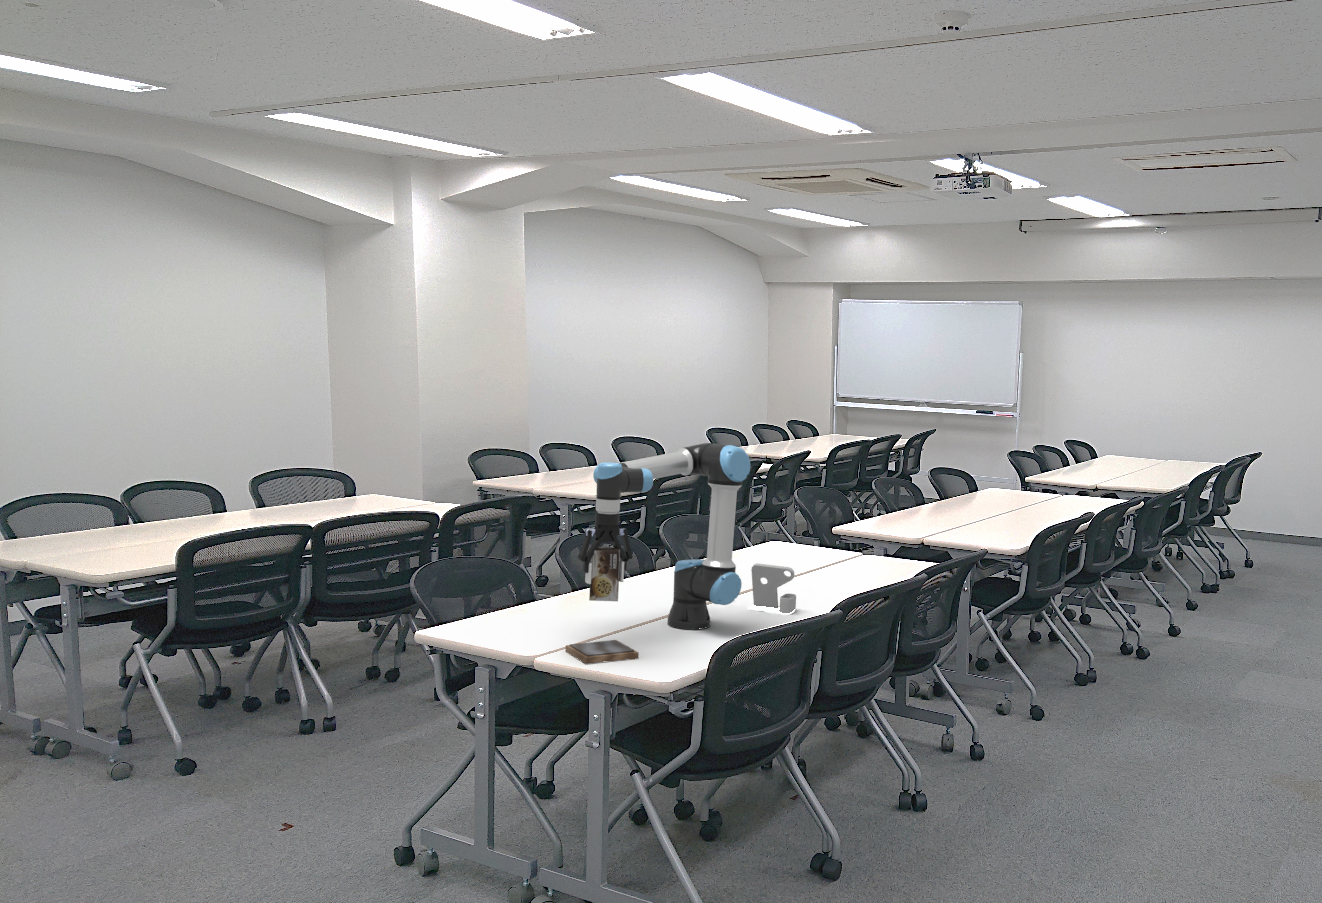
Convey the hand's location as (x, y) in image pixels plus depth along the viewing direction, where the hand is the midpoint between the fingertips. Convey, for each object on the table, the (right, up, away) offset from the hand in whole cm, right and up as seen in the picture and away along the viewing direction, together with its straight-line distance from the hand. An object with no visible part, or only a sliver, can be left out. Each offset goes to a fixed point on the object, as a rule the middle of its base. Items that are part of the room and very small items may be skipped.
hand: (604, 582), depth 339 cm
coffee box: (0, -6, 0) cm, 6 cm away
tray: (-1, -22, -2) cm, 23 cm away
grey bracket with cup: (+60, -19, +70) cm, 94 cm away
